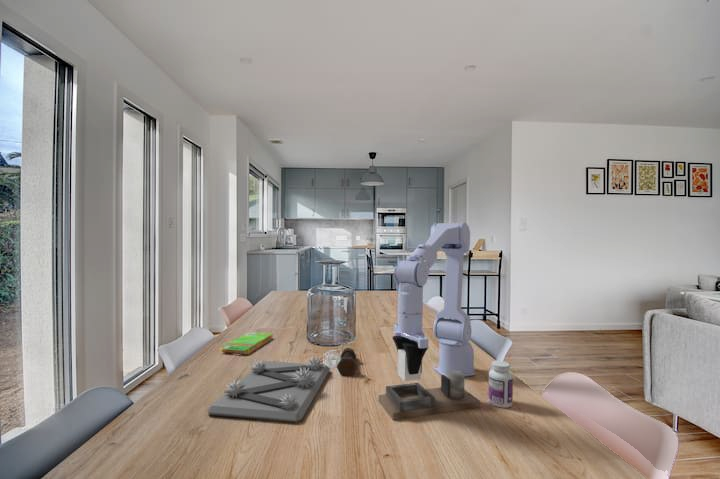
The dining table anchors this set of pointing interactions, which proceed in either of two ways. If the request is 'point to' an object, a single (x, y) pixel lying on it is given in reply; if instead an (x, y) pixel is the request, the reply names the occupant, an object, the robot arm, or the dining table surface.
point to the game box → (247, 343)
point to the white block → (406, 367)
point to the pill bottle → (500, 385)
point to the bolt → (347, 362)
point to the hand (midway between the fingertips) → (409, 369)
